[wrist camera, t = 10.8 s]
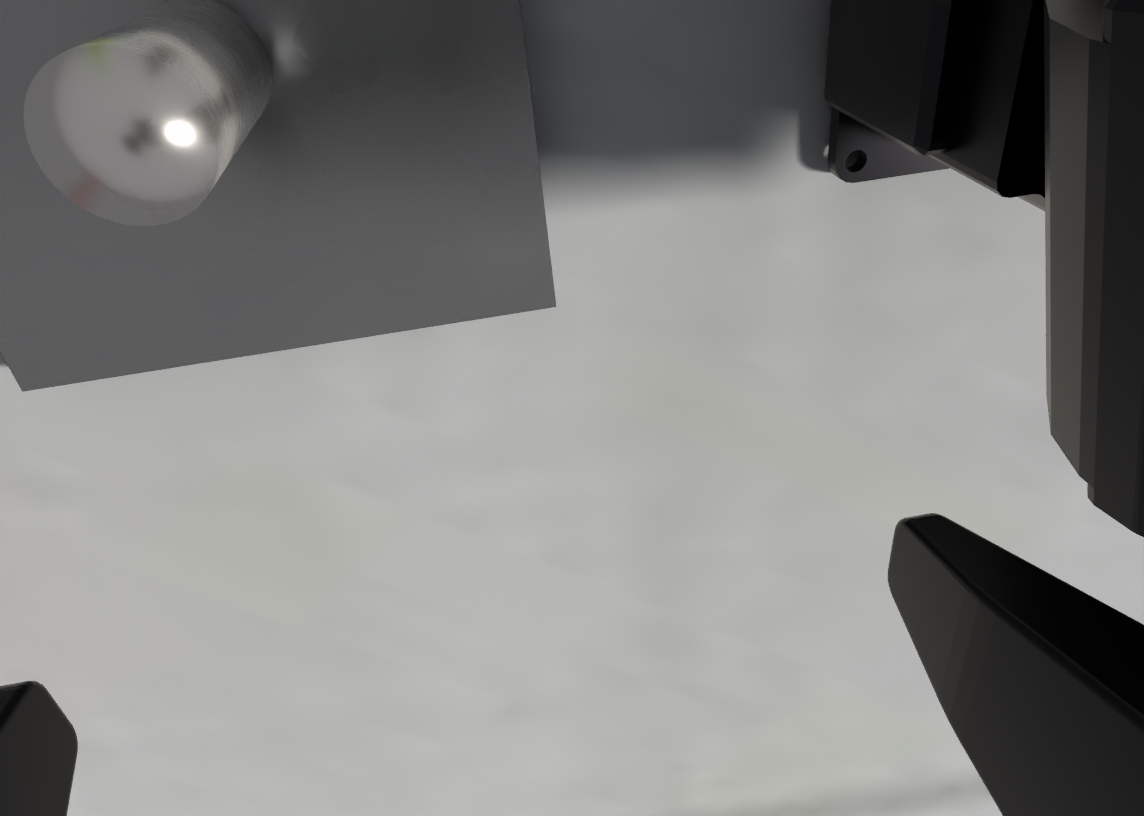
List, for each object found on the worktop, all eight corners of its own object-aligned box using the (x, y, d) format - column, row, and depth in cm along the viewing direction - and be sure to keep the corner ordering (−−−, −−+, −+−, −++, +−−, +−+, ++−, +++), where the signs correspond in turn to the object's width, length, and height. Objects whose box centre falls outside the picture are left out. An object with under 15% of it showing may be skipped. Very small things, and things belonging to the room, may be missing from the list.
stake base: (467, -388, 13) (498, -548, 8) (550, 288, 20) (594, 426, 15) (-329, -315, 12) (-840, -445, 7) (39, 369, 19) (-96, 544, 14)
